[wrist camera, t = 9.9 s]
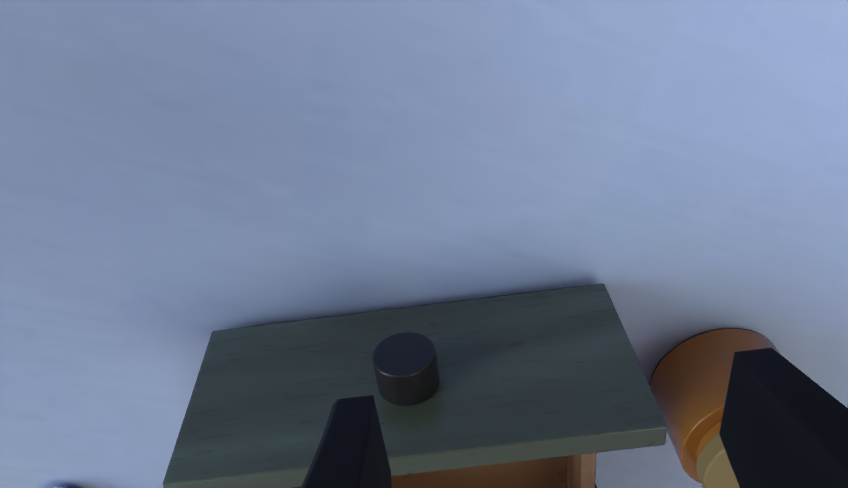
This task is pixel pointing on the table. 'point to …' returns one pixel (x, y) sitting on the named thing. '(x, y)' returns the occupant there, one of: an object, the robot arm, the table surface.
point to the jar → (701, 400)
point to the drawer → (426, 394)
